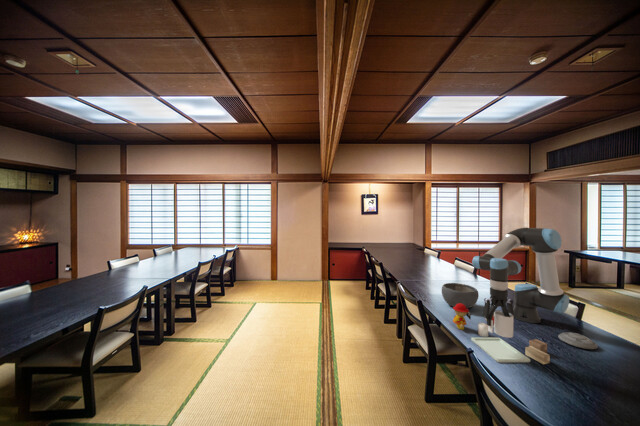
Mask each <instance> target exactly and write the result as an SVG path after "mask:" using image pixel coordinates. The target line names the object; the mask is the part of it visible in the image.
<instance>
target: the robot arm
mask: <svg viewBox="0 0 640 426" xmlns="http://www.w3.org/2000/svg"><path fill="white" fill-rule="evenodd" d="M560 234H561V233H560V232H559V231H557V230H556V229H554V228H545V227H544V228H543V227H542V228H541V227H537V228H536V227H519V228H516V229H513V230H512V231H509V232H507V233H506V234H505V235H504V236H503V237H502V240H500V241H499V242H497V243H496V244H495V245H494V246H492V248H490V249H489V250H487V252H485V253H484V254H483V255H482V256H481V255H475V256H473V258H472V260H471V263H472V267H474V268H475V269H478V270H483V271H488V272H489V286H490V287H489V294H490V297H489V298H485V297H484V299H483V301H484V306H483V313H482V317H483V318H484V319H485V318H486V319H487V321H486V324H487V325H488V333H491V334H493V333H494V327H493V326H494V325H493V320H492V317H493V315H494V313H495V311H497V310H496V309H498V307H500V308H501V311H503V313H504V316H505V317H510V315H509V313H510V314H512V315H513V320H514V319H515V320H518V321H520V322H525V323H530V324H540V323H541V317H540V314H539V311H538V308H540V309H541V308H542V309H545V310H548V311H551V312H553V313H558V314H559V313H560V314H563V313H565V312H566V311H567V309H568V308H569V304H570V296H569V295H567V294H565V293H564V292H565V291H564V290H563V289H562V288H561V287H560V281H559V273H558V267H557V261H556V260H557V259H556V253H557V252H558V250H559V249H561V247H562V243H563V241H562V237H561V235H560ZM520 246H522V247H523V246H525V247H531V251H532V252H534V253H535V255H536V256H535V257H536V263H537V271H538V276H539V277H538V278H539V282H540V284H539V285H540V286H539V287H538V286H537V285H536V284H533V283H531V284H530V283H517V284H516V285H515V286H514V299H511V298H508V297H509V294H508V293H509V292H508V289H509V278H508V277H509V276H515V275H517V274H519V273H521V271H522V266H521V264H520V263H519V262H518V261H517V260H509V259H508V260H507V259H506V258H504V257H505V256H506V255H508V254H509V253H510V252H512V250H513V249H515V248H518V247H520ZM486 319H485V320H486Z"/></svg>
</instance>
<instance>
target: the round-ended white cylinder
mask: <svg viewBox="0 0 640 426" xmlns="http://www.w3.org/2000/svg"><path fill="white" fill-rule="evenodd" d="M477 327H478V329H477V330H478V331H477V334H478V336H480V337H481V338H489V331H488V325H487V323H484V322H478V325H477Z"/></svg>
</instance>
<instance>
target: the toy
mask: <svg viewBox="0 0 640 426" xmlns="http://www.w3.org/2000/svg"><path fill="white" fill-rule="evenodd" d="M452 309H453V310H454V313H455V315H454V317H453V319H452V322H453V323H454V324H455V325H456V327H457V328H458V330H463V331H464V330H465V326H466V325H467V321H466V318H465V316H466V317H467V318H468V319H469V320H470V321H471V315H472V314H471V313H472V312H471V311H470V310H469V308H466V306H465V305H464V304H461V303H458V304H456V306H455V307H453V306H452Z"/></svg>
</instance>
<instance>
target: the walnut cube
mask: <svg viewBox="0 0 640 426" xmlns="http://www.w3.org/2000/svg"><path fill="white" fill-rule="evenodd" d="M528 344H529V345H528V347H529V346H532V347H534V348H536V349H538V350H540V351H542V352H544V353H546V354H548V343H546V342H543V341H542V340H540V339H535V338H534V339H531V340H529V343H528Z"/></svg>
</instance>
